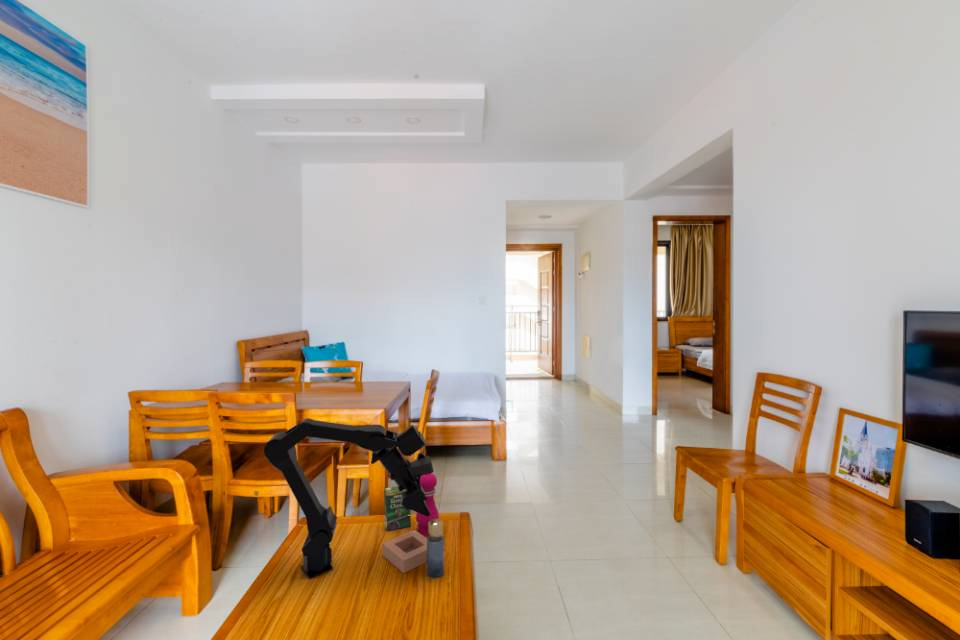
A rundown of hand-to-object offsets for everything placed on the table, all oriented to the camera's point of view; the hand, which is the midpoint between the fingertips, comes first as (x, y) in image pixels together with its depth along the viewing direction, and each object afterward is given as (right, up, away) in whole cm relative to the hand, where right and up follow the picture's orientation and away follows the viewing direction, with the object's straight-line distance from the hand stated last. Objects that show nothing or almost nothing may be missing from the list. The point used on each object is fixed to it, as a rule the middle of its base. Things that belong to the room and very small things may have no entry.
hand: (427, 507), depth 124 cm
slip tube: (+3, -15, -6) cm, 16 cm away
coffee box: (-12, -14, +17) cm, 25 cm away
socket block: (-5, -14, +1) cm, 15 cm away
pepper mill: (-2, -14, +15) cm, 20 cm away
